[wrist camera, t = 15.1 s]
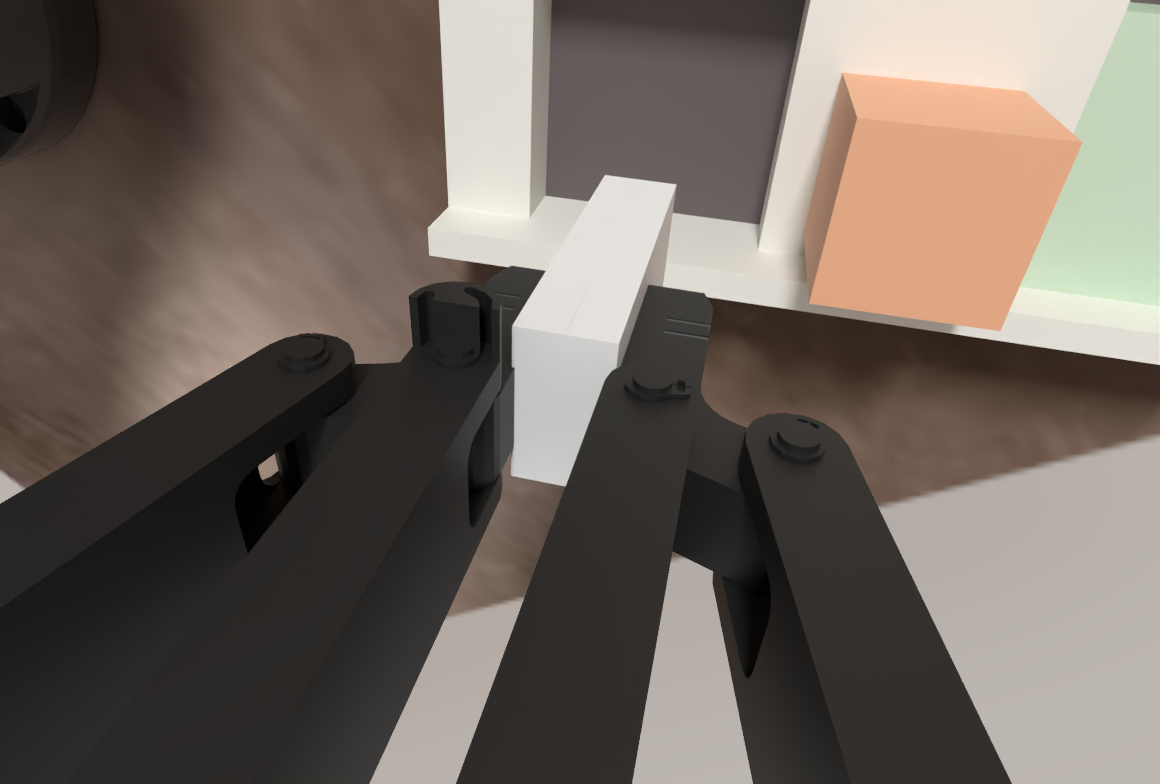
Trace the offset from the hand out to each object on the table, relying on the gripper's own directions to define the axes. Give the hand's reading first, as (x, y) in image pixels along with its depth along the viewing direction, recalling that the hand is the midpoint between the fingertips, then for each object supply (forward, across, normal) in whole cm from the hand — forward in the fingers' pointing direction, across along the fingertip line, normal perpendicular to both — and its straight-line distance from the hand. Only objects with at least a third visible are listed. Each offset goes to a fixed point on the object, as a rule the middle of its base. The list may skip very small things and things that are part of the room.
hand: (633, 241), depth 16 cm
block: (+10, +7, 0) cm, 12 cm away
